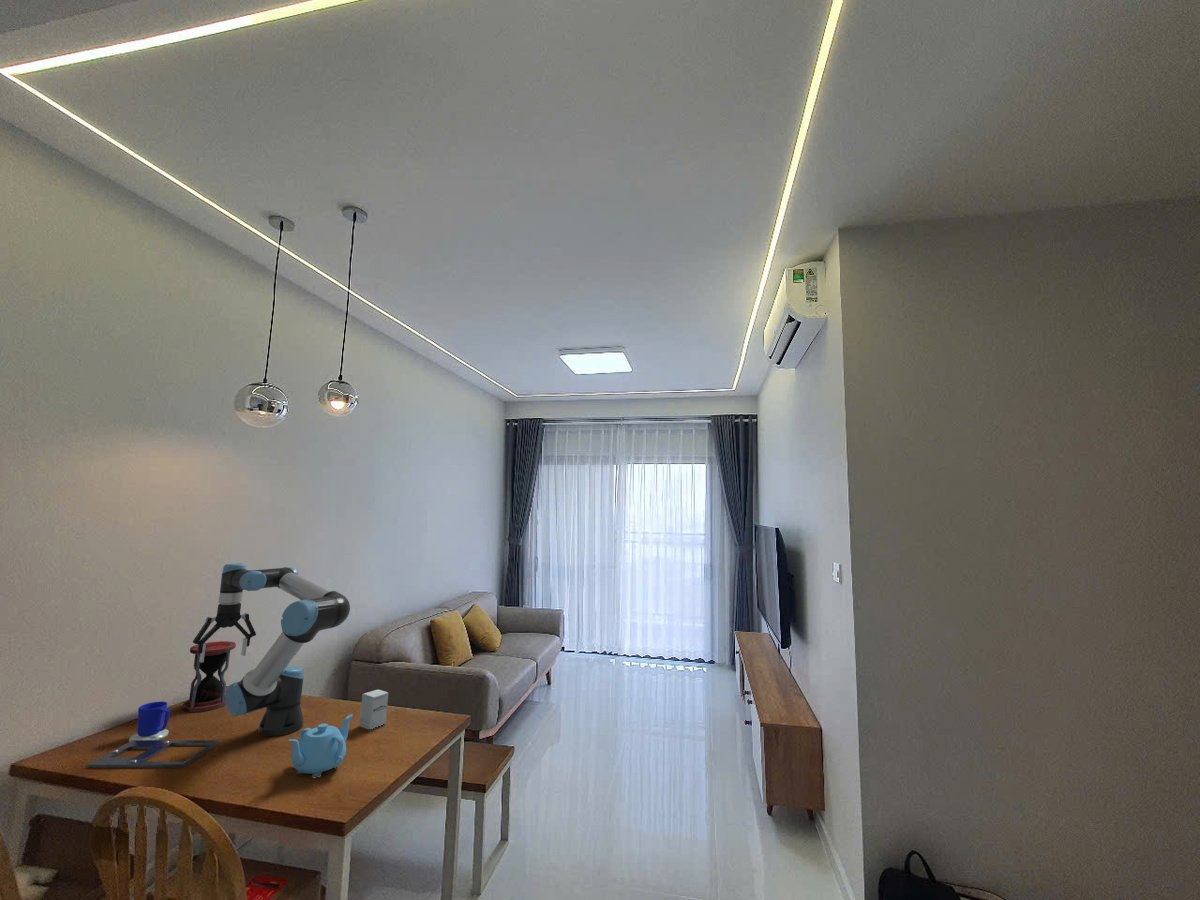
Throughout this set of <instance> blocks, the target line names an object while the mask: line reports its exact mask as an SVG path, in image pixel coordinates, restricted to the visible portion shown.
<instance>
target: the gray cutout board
mask: <svg viewBox="0 0 1200 900" xmlns="http://www.w3.org/2000/svg"><path fill="white" fill-rule="evenodd" d="M220 741H221V740H217V739H216V740H215V739H214V740H210V739H209V740H206V739H205V740H203V739H201V740H200V739H198V740H197V739H196V740H191V739H189V740H187V739H186V740H177V739H176V740H175V739H173V740H171V739H168V740H166V739H165V740H164V739H163V740H162V739H160V740H132V741H130V742H129V741H128V742H127V743H125V744H123V745H121V746H119V747H117V748H116V749H114V750H111V751H109V752H107V753H106V754H104V755H102V756H100V757H98V758H97V759H95V760H93V761H90V762H88V763H87V764H86V765H85V768H86V767H94V768H93V769H140V768H141V769H145V768H146V769H156V768H157V769H165V768H167V769H169V768H170V769H171V768H172V769H174V768H175V769H176V768H178V769H181V768H185V767H186V766H187V765H190V763H192V762H194V761H195V760H196V759H198V758H199V757H202V756H203V754H205V753H207V752H209V751H210V750H211V749H212V748H213V749H214V747H216V746H217V745H219V744H220ZM182 746H183V747H184V746H185V747H193V746H194V747H196V746H197V747H204V746H205V748H203V749H201V750H200V751H198V752H197V753H195V754H194V755H192V756H191V757H189V758H188V759H186V760H185V761H148V760H151V759H152V758H154V757H155V756H157V755H158V754H160V753H162V752H164V751H165V750H167V749H169V748H170V747H182ZM129 750H132V751H133V750H136V751H139V750H140V751H141V750H142V751H143V750H145V751H144V752H141V753H140V754H139V755H136V756H135V757H132V756H131V757H128V756H125V757H119V756H120V755H123V754H124V753H126V752H127V751H129Z"/></svg>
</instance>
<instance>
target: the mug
mask: <svg viewBox="0 0 1200 900" xmlns="http://www.w3.org/2000/svg"><path fill="white" fill-rule="evenodd" d="M167 707H168V702H167V701H153V702H147V703H145V704H142V705H140V706H139V707H138V709H137V710H138V712H137V729H136V731H137V733H138V735H139V736H150V735H154V734H156V733H158V732H159V731H163V730H164V729H166V728H167V726H168V723H169V719H170V715H171V710H170V709H168V708H167ZM137 733H136V734H137Z"/></svg>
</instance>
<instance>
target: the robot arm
mask: <svg viewBox="0 0 1200 900" xmlns="http://www.w3.org/2000/svg"><path fill="white" fill-rule="evenodd" d="M270 588H271V589H272V588H278V589H280V590H282V591H283V592H285V593H287V594H289V595H291V596H292V597H294V598H296V599H298V600H297V601H293V602H292V603H290V604H288V605H287V606H286V608H285V609H284V611H283V613H282V614H281V619H280V627H281V631H282V632H281V633H280V635H279V636H278V637H277V639H276V640H275V641H274V643H273V644H272V645H271V647H270V648H269V649H268V651H266V654H264V656H263V658H261V660H260V661H259V663H258V664H257V665H256V667H255V668H254V669H253V668H252V669H251V670H249V671H247V673H245V675H244V676H243V678H242V679H241V680H239V681H236V682H233V683H231V684H229V685H228V686H227V687H226V689H225V702H226V705H225V706H226V709H227V711H228V713H229V714H230V715H231V716H234V717H239V716H243V715H245V716H246V714H250V713H252V712H256V711H258V710H261V709H264V708H265V712H264V714H263V715H262V718H261V721H260V723H259V725H258V731H257V733H258V734H259V735H261V736H263V737H264V736H265V737H280V736H285V735H288V734H291V733H294V732H297V731H299V730H300V729H302V728H303V727H304V723H305V721H304V720H305V717H304V714H303V711H302V707H301V703H302V702H301V701H302V693H303V683H304V680H305V677H304V675H305V674H304V672H305V671H304V669H303V667H302V666H301V667H300V666H297V665H289V664H290V663H291V662H292V661H293V659H294V658H295V657H296V655H297V654H298V652H299V651H300V650H301V648H302V647H303V646H304V645H305V644H307V643H310V642H311V641H313V639H314V638H315V637H316V636H317V634H319V632H320V631H324V630H328V629H333V628H336V627H338V626H340V625H341V624H343V623H344V622H345V621H346V620H347V618H348V617H349V614H350V611H351V604H350V601H349V600H348V598H347V597H346V596H345V595H343V594H342V593H341V592H338V591H337V590H328V589H326V588H325V587H324V588H323V587H322V586H320V585H317V584H316V583H314V582H313V581H310V580H309V579H306V578H305V577H303V576H300V575H299V573H298V570H297V569H296V568H295V567H286V566H283V567H277V568H266V569H265V568H263V569H252V570H250V569H249V570H248V569H247V565H246V564H245V563H244V562H243V563H241V562H240V563H239V562H235V563H226V564H224V565H223V568H222V573H221V578H220V588H219V596H218V603H219V604H217V611H216V616H215V617H211V616H207V617H206V618H205V622H204V624H203V625H202V626H201V628H200V630H199V631H198V633H197V634H196V636H195V637H194V638H193V640H192V643H193V644H195V645H198V651H197V652H198V653H199V654H200V660H199V661H200V662H201V663H202V662H204V655H205V648H206V644H204V643H207V641H208V640H209V639H210V638H211V637H212V636H213V635H214V634H215V633H216V632H217V631H218V630H220V629H221V628H222V629H224V628H225V629H226V628H232V627H234V626H235V627H236V628H237V630H239V632H240V633H241V634H242V635H243V636H244V637H243V638H242V645H241V652H240V655H241V656H243V657H245V656H247V655H246V654H247V648H248V647H249V646H250V643H251V638H253V637H256V635H257V633H256V631H255V628H254V626H253V624H252V622H251V621H250V614H249V613H247V612H245V613H243V614H241V609H242V603H241V602H242V600H243V594H244V593H243V592H244V591H247V592H254V591H255V592H256V591H260V590H261V589H270ZM241 619H242V620H243V621H244V623H245V625H246V627H247V629H248V631H249V632H248V631H247V630H246V629H244V627H243V626H242V625H241V624H240V622H239V621H240V620H241ZM214 622H215V624H214V625H213V626H212V628H211V629H210V630H209V631H208V632H207V630H208V629H209V627H210V626H211V624H212V623H214ZM205 633H206V634H205Z"/></svg>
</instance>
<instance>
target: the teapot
mask: <svg viewBox="0 0 1200 900" xmlns="http://www.w3.org/2000/svg"><path fill="white" fill-rule="evenodd" d="M353 715H354V714H353V713H350V714H348V715H347V716H346V717H345V718H344V720H343V722H342V724H341V727H340V729H339V728H338V727H336V726H335V725H329V724H328V723H321V724H320V723H319V724H318V725H317V726H316V727H314V728H310V727H305V728H304V729H302V730H301V731H300V733H299V740H298V739H294V738H292V739H287V740H288V742H289V743H291V746H292V747H291V749H292V750H291V755H290V758H291V764H292V766H293V768H295V770H297V771H296V774H298V773H302V774H311V777H312V776H313V777H318V776H320V775H321V774H322V772H326V771H329V770H331V769H332V768H335V767H337V766H338V765H339V766H340V765H341V764H342V763H344V762H343V761H344V758H345V756H346V754H347V745H346V742H347V739H348V736H349V725H350V721H351V719H352V717H353ZM335 769H336V768H335ZM332 770H333V769H332Z"/></svg>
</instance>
